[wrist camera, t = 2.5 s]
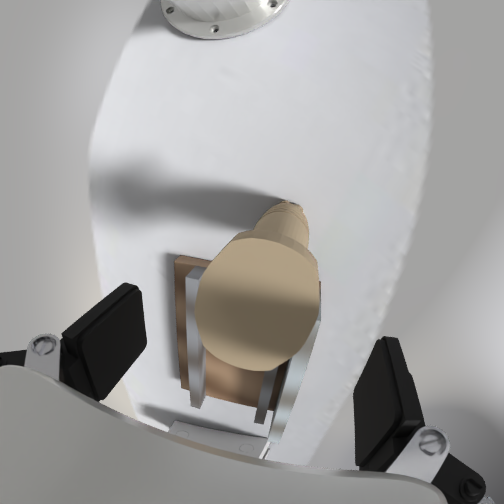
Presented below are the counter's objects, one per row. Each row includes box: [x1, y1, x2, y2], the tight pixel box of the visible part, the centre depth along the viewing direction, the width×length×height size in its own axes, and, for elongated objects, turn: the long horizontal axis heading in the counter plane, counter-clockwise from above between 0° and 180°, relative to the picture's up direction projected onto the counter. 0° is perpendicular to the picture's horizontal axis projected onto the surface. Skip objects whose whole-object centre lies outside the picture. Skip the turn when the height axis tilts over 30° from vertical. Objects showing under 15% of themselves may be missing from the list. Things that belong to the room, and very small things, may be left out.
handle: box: [194, 201, 320, 371], centre depth 18 cm, size 5×6×15 cm
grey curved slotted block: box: [168, 420, 270, 460], centre depth 36 cm, size 17×5×10 cm, turn 92°
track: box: [174, 255, 321, 444], centre depth 28 cm, size 19×14×6 cm
